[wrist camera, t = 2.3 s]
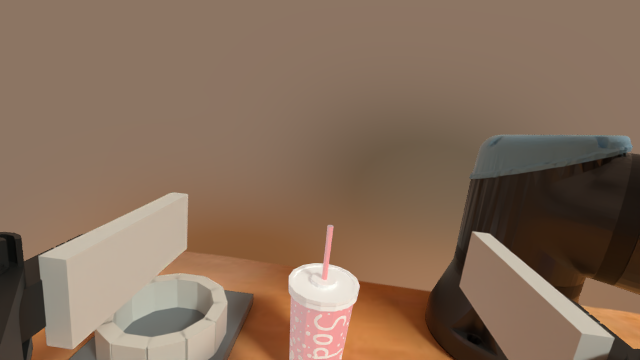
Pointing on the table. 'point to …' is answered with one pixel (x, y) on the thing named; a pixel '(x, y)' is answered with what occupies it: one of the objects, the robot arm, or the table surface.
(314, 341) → the beverage cup
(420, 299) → the table surface
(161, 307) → the cup holder
